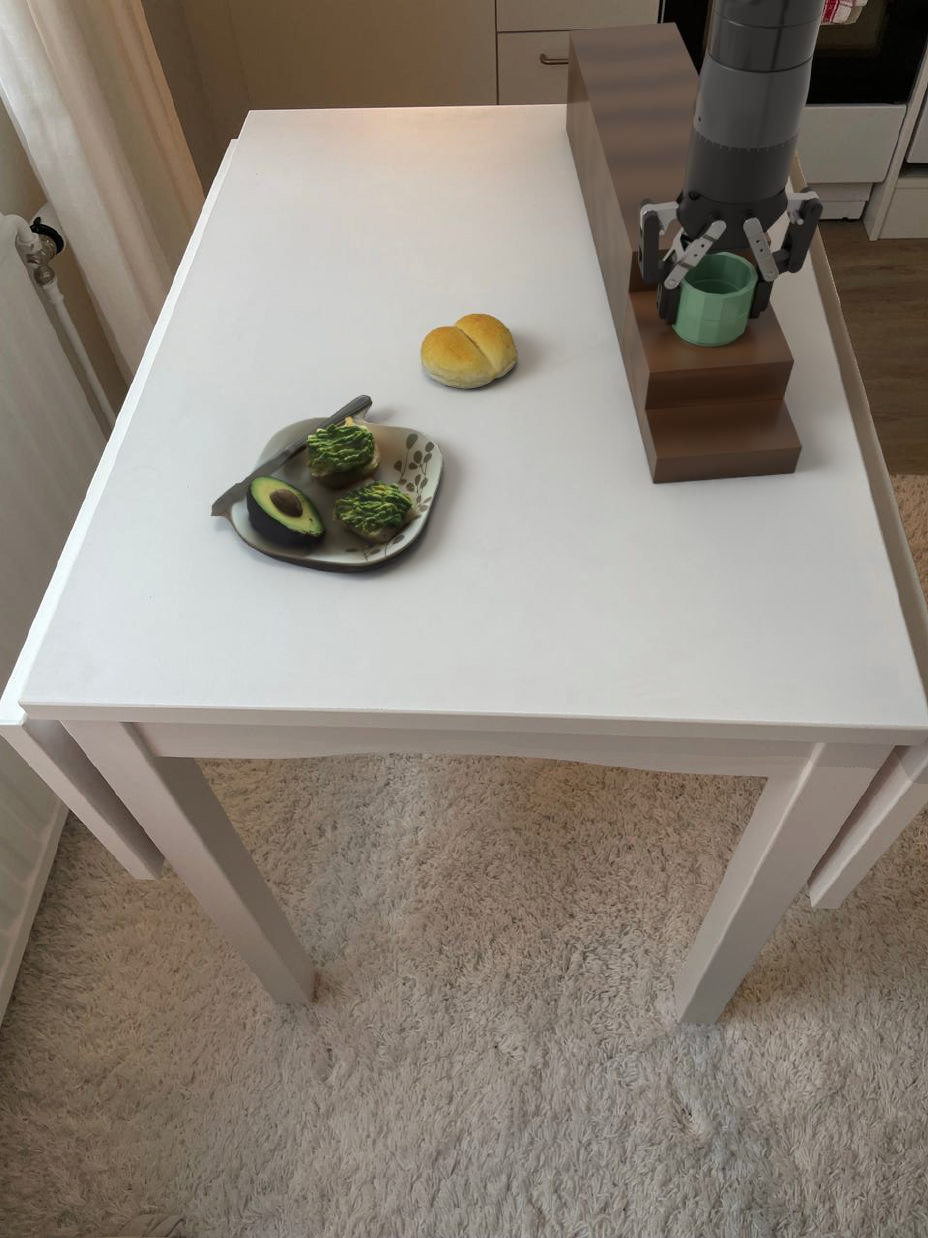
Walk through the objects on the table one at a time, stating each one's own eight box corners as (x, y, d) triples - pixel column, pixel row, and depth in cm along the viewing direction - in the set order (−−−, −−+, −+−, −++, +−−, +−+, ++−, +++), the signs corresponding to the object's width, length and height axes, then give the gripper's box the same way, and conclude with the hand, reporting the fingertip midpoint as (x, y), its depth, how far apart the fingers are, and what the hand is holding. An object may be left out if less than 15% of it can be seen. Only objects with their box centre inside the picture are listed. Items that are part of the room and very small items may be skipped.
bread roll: (407, 357, 92) (403, 322, 89) (486, 325, 95) (485, 290, 91) (449, 405, 88) (446, 370, 85) (531, 370, 90) (532, 335, 87)
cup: (754, 311, 83) (766, 259, 79) (734, 356, 79) (745, 304, 75) (682, 295, 84) (690, 244, 80) (659, 338, 81) (667, 287, 77)
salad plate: (287, 397, 90) (277, 357, 86) (470, 426, 86) (468, 385, 82) (199, 550, 79) (183, 512, 75) (404, 590, 75) (398, 552, 71)
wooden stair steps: (794, 473, 81) (828, 368, 72) (652, 483, 81) (669, 380, 72) (663, 120, 117) (675, 21, 108) (565, 127, 117) (569, 30, 108)
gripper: (655, 151, 65) (632, 350, 79) (864, 135, 65) (805, 337, 79) (637, 99, 70) (618, 296, 83) (832, 84, 70) (782, 283, 83)
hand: (709, 315), depth 81 cm, fingers closed on cup, 6 cm apart
